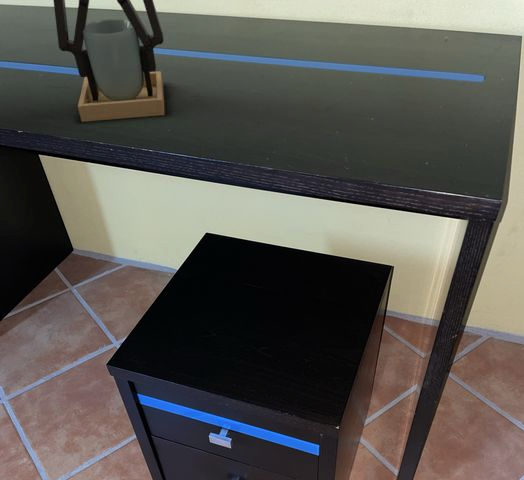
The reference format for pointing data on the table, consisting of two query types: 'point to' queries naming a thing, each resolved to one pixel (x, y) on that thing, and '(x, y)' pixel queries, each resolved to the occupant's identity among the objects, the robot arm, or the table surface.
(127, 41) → the cup
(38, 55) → the table surface
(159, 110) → the tray
